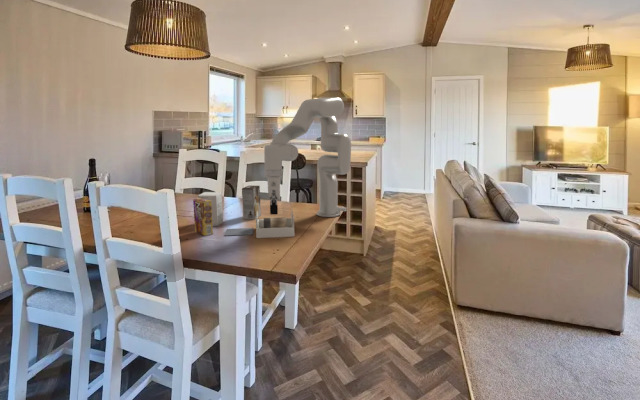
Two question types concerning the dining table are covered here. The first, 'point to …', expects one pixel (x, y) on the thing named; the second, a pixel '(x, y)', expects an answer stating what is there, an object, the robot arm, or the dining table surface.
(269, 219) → the block
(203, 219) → the candy box
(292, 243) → the dining table surface
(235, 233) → the mat
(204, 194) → the supplement box
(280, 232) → the grey open box
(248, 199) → the coffee box
